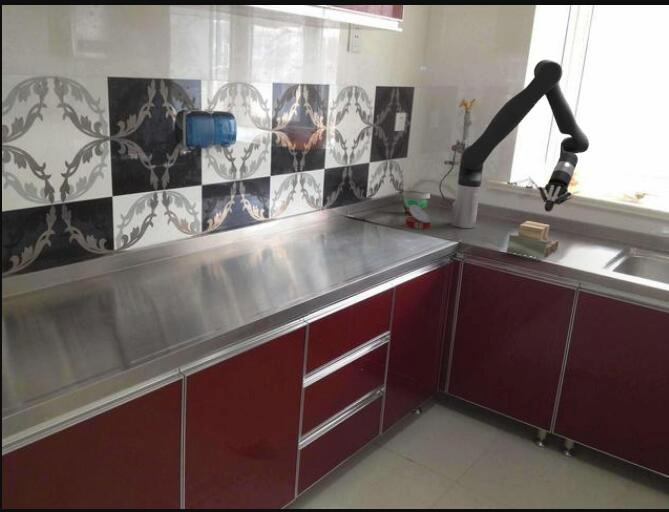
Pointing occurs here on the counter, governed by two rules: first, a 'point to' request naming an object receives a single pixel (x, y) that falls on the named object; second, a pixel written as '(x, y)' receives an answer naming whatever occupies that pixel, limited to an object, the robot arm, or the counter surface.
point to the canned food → (418, 218)
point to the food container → (414, 200)
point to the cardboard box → (534, 230)
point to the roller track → (531, 246)
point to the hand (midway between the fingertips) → (547, 210)
